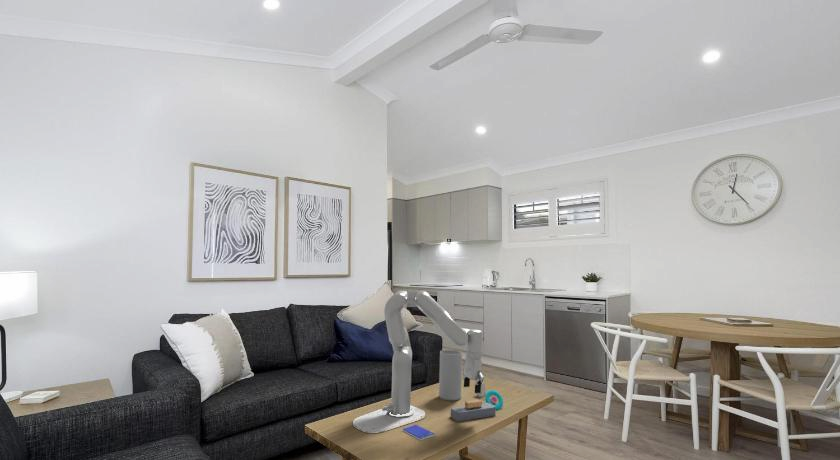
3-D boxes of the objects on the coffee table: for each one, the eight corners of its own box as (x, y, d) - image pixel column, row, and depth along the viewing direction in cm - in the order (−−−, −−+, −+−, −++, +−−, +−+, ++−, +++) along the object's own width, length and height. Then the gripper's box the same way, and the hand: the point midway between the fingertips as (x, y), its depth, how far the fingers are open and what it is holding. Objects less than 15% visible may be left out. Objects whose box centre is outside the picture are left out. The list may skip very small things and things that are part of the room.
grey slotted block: (458, 421, 200) (458, 412, 201) (450, 416, 207) (450, 408, 207) (495, 415, 210) (495, 406, 211) (487, 410, 216) (487, 402, 217)
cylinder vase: (461, 394, 242) (462, 350, 243) (461, 401, 229) (462, 355, 231) (439, 393, 243) (440, 349, 245) (438, 400, 230) (439, 353, 232)
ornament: (500, 396, 228) (483, 391, 228) (503, 393, 225) (486, 387, 225) (499, 415, 220) (481, 409, 220) (502, 412, 217) (484, 406, 217)
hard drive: (435, 433, 184) (416, 424, 193) (420, 437, 178) (402, 428, 188) (434, 436, 183) (416, 427, 193) (420, 441, 178) (402, 432, 188)
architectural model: (475, 396, 239) (475, 383, 240) (480, 394, 245) (480, 380, 246) (480, 398, 237) (480, 384, 238) (485, 395, 243) (485, 382, 244)
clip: (468, 416, 205) (468, 403, 206) (464, 414, 208) (465, 401, 208) (481, 414, 209) (481, 401, 210) (477, 412, 212) (478, 399, 212)
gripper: (458, 351, 217) (456, 385, 215) (477, 359, 201) (475, 395, 200) (470, 350, 220) (468, 384, 219) (490, 358, 205) (488, 394, 203)
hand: (471, 389), depth 209 cm, fingers open, 9 cm apart
